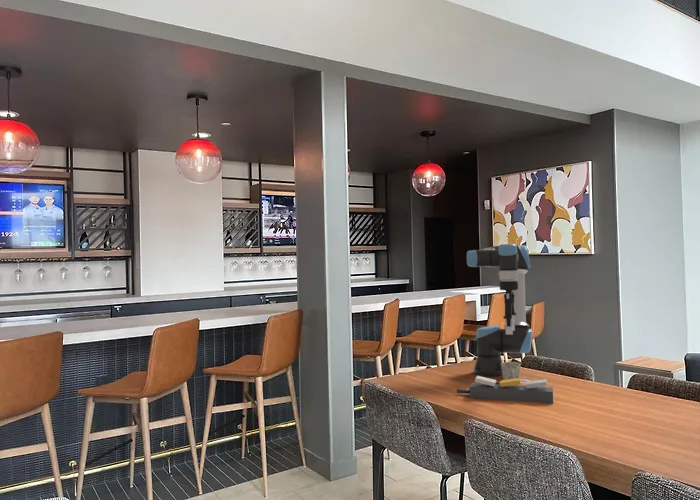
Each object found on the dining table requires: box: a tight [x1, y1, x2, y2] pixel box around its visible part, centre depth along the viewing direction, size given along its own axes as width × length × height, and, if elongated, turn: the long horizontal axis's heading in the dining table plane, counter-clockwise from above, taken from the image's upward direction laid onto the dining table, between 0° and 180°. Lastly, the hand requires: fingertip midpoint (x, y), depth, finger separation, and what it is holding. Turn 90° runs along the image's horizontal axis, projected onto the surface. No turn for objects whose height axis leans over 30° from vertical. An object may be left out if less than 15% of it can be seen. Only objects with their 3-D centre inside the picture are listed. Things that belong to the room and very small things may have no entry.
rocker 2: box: [499, 377, 522, 387], centre depth 216 cm, size 5×8×2 cm, turn 69°
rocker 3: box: [525, 378, 548, 389], centre depth 212 cm, size 5×8×2 cm, turn 69°
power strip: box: [456, 382, 554, 404], centre depth 217 cm, size 8×38×5 cm, turn 69°
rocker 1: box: [474, 375, 497, 387], centre depth 219 cm, size 5×8×2 cm, turn 69°
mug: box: [501, 361, 521, 380], centre depth 235 cm, size 8×13×10 cm, turn 174°
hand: (510, 332), depth 223 cm, fingers open, 11 cm apart
